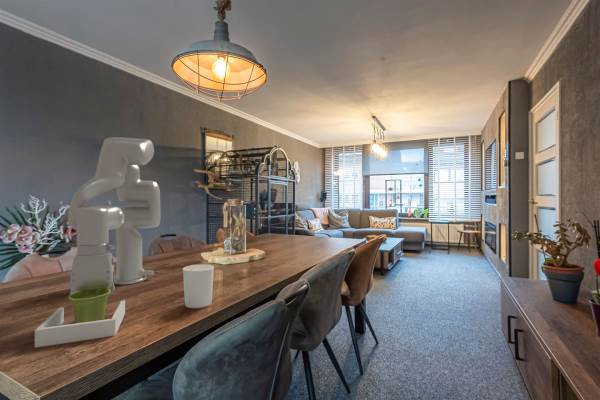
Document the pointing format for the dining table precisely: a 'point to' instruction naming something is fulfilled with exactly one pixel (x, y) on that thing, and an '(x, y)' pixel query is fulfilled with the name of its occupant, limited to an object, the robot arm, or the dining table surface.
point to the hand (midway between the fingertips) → (93, 313)
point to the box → (76, 328)
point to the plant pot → (89, 305)
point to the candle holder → (198, 285)
